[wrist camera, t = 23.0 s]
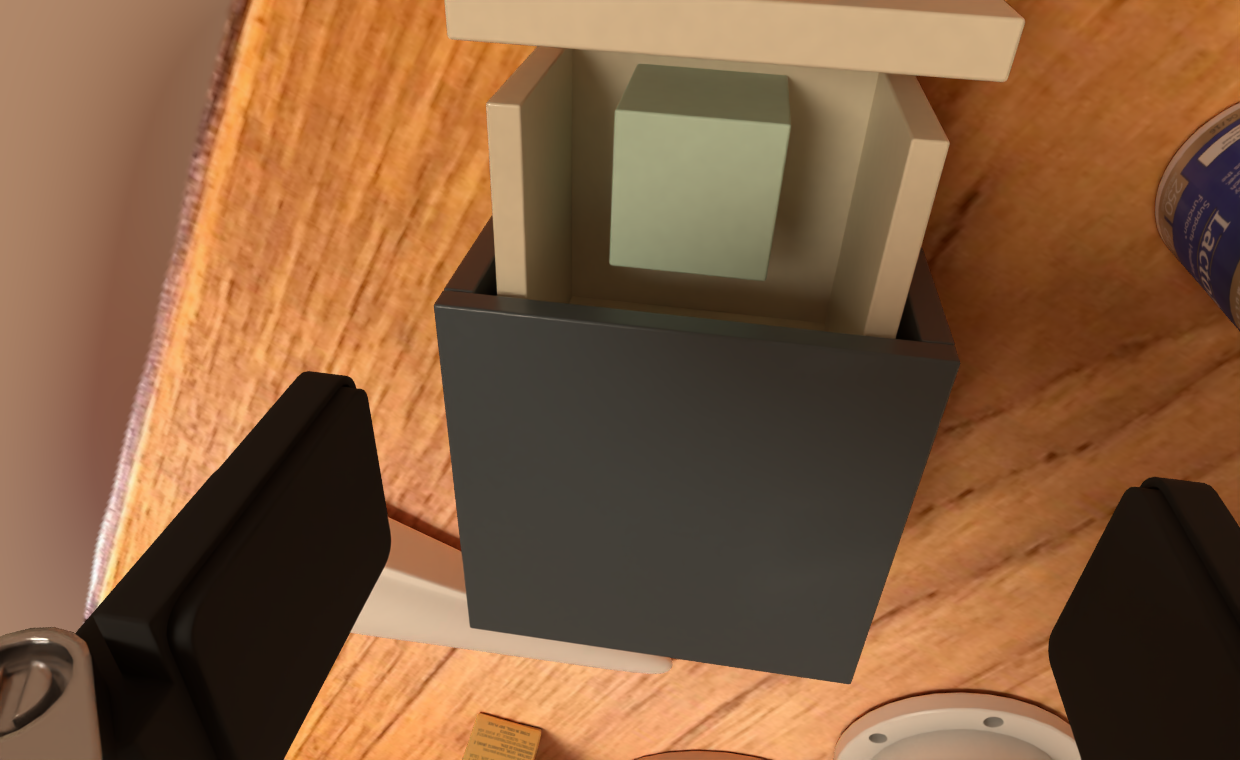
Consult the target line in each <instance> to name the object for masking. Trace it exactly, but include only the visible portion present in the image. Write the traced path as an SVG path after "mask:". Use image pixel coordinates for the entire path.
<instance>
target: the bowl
mask: <svg viewBox="0 0 1240 760" xmlns="http://www.w3.org/2000/svg"><path fill="white" fill-rule="evenodd" d="M637 760H764V759H760V758H757V757H751V756H745V755H739V754H732V753H726V752H709V751H685V752H668V753H663V754H657V755H652V756H647V757H642V758H639V759H637Z"/></svg>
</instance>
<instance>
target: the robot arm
mask: <svg viewBox="0 0 1240 760" xmlns="http://www.w3.org/2000/svg"><path fill="white" fill-rule="evenodd" d="M390 549H391V532H390V526H389V520H388V514H387V508H386V503H385V497H384V491H383V485H382V479H381V473H380V467H379V461H378V455H377V449H376V443H375V437H374V431H373V425H372V420H371V414H370V408H369V402H368V397H367V394H366V392H365V391H364V390H362V389H357V388H356V386H355V383H354V381H353V380H352V378H350V377H348V376H343V375H335V374H327V373H319V372H311V371H307V372H303V373H302V374H300V375H299V376H298V377H297V378H296V379H295V381H294V382H293V383H292V384H291V385H290V386H289V388H288V389H287V390H286V391H285V392H284V393H283V395H282V396H281V397H280V398H279V399H278V400H277V402H276V403H275V404H274V405H273V406H272V407H271V409H270V410H269V411H268V412H267V413H266V414H265V415H264V417H263V418H262V419H261V420H260V421H259V422H258V424H257V425H256V426H255V427H254V428H253V429H252V431H251V432H250V433H249V434H248V435H247V436H246V438H245V439H244V440H243V441H242V442H241V443H240V445H239V446H238V447H237V448H236V449H235V450H234V452H233V453H232V454H231V455H230V456H229V457H228V459H227V460H226V461H225V462H224V463H223V464H222V466H221V467H220V468H219V469H218V470H217V471H216V472H214V473H213V474H212V475H211V476H210V478H209V479H208V480H207V481H206V482H205V483H204V485H203V486H202V487H201V488H200V489H199V490H198V492H197V493H196V494H195V495H194V496H193V497H192V498H191V500H190V501H189V502H188V503H187V504H186V505H185V507H184V508H183V509H182V510H181V511H180V512H179V514H178V515H177V516H176V517H175V518H174V519H173V521H172V522H171V523H170V524H169V525H168V526H167V528H166V529H165V530H164V531H163V532H162V533H161V534H160V536H159V537H158V538H157V539H156V540H155V541H154V543H153V544H152V545H151V546H150V547H149V548H148V550H147V551H146V552H145V553H144V554H143V555H142V557H141V558H140V559H139V560H138V561H137V562H136V563H135V565H134V566H133V567H132V568H131V569H130V570H129V572H128V573H127V574H126V575H125V576H124V577H123V579H122V580H121V581H120V582H119V583H118V584H117V586H116V587H115V588H114V589H113V590H112V591H111V592H110V594H109V595H108V596H107V597H106V598H105V599H104V601H103V602H102V603H101V604H100V605H99V606H98V608H97V609H96V610H95V611H94V612H93V613H92V615H91V616H90V617H89V618H88V619H87V620H86V621H85V623H84V624H83V625H82V626H81V627H80V628H79V630H78V631H77V632H76V633H74V632H71V631H67V630H63V629H59V628H55V627H48V628H47V627H46V628H29V629H25V630H21V631H17V632H13V633H9V634H5V635H3V636H1V637H0V760H284V758H285V756H286V754H287V752H288V750H289V748H290V746H291V744H292V742H293V741H294V739H295V737H296V735H297V733H298V731H299V729H300V727H301V725H302V723H303V721H304V720H305V718H306V716H307V714H308V712H309V710H310V708H311V706H312V704H313V702H314V700H315V699H316V697H317V695H318V693H319V691H320V689H321V687H322V685H323V683H324V681H325V680H326V678H327V676H328V674H329V672H330V670H331V668H332V666H333V664H334V662H335V660H336V659H337V657H338V655H339V653H340V651H341V649H342V647H343V645H344V643H345V641H346V639H347V638H348V636H349V634H350V632H351V630H352V628H353V626H354V624H355V622H356V620H357V618H358V617H359V615H360V613H361V611H362V609H363V607H364V605H365V603H366V601H367V599H368V598H369V596H370V594H371V592H372V590H373V588H374V586H375V584H376V582H377V580H378V578H379V577H380V575H381V573H382V571H383V569H384V567H385V565H386V563H387V560H388V557H389V554H390ZM1048 652H1049V660H1050V665H1051V668H1052V671H1053V674H1054V677H1055V680H1056V683H1057V686H1058V689H1059V693H1060V696H1061V699H1062V702H1063V705H1064V708H1065V711H1066V714H1067V717H1068V720H1069V723H1070V725H1069V724H1068V723H1066V722H1065V721H1064V720H1062V719H1061V718H1059V717H1058V716H1056V715H1054V714H1052V713H1050V712H1048V711H1046V710H1044V709H1041V708H1039V707H1037V706H1035V705H1032V704H1028V703H1025V702H1022V701H1019V700H1015V699H1012V698H1007V697H1001V696H995V695H990V694H979V693H963V692H958V693H936V694H929V695H922V696H916V697H910V698H907V699H903V700H900V701H896V702H892V703H889V704H887V705H884V706H882V707H880V708H877V709H875V710H873V711H871V712H869V713H867V714H866V715H864V716H863V717H861V718H860V719H858V720H857V721H855V722H854V723H852V725H851V726H850V727H849V728H848V729H847V730H846V731H845V732H844V733H843V734H842V735H841V737H840V739H839V741H838V742H837V744H836V746H835V751H834V756H833V760H1240V527H1239V526H1238V524H1237V523H1236V521H1235V520H1234V518H1233V516H1232V515H1231V513H1230V512H1229V510H1228V509H1227V507H1226V506H1225V504H1224V503H1223V501H1222V500H1221V498H1220V497H1219V495H1218V494H1217V492H1216V491H1215V490H1214V489H1213V488H1212V487H1211V486H1210V485H1207V484H1205V483H1200V482H1192V481H1184V480H1176V479H1168V478H1160V477H1151V478H1148V479H1147V480H1145V481H1144V482H1143V483H1142V484H1141V486H1140V487H1130V488H1129V489H1128V490H1126V492H1125V493H1124V494H1123V496H1122V498H1121V500H1120V502H1119V504H1118V506H1117V507H1116V509H1115V511H1114V513H1113V515H1112V517H1111V519H1110V521H1109V523H1108V525H1107V527H1106V529H1105V530H1104V532H1103V534H1102V536H1101V538H1100V540H1099V542H1098V544H1097V546H1096V548H1095V550H1094V552H1093V553H1092V555H1091V557H1090V559H1089V561H1088V563H1087V565H1086V567H1085V569H1084V571H1083V573H1082V575H1081V577H1080V578H1079V580H1078V582H1077V584H1076V586H1075V588H1074V590H1073V592H1072V594H1071V596H1070V598H1069V600H1068V601H1067V603H1066V605H1065V607H1064V609H1063V611H1062V613H1061V615H1060V617H1059V619H1058V621H1057V623H1056V624H1055V626H1054V628H1053V630H1052V633H1051V635H1050V639H1049V648H1048Z"/></svg>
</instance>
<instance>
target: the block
mask: <svg viewBox="0 0 1240 760" xmlns="http://www.w3.org/2000/svg"><path fill="white" fill-rule="evenodd" d="M790 132H791V116H790V102H789V87H788V77H787V76H786V75H773V74H761V73H749V72H736V71H724V70H712V69H699V68H687V67H675V66H662V65H650V64H637V66H636V68H635V70H634V72H633V75H632V77H631V79H630V81H629V83H628V85H627V87H626V89H625V91H624V93H623V95H622V97H621V100H620V102H619V104H618V106H617V108H616V110H615V117H614V145H613V173H612V201H611V229H610V258H609V263H610V265H613V266H623V267H632V268H642V269H651V270H661V271H670V272H680V273H689V274H699V275H708V276H718V277H727V278H737V279H746V280H756V281H765V280H766V278H767V272H768V266H769V260H770V254H771V248H772V242H773V235H774V229H775V223H776V217H777V211H778V205H779V199H780V193H781V187H782V181H783V174H784V168H785V162H786V156H787V150H788V144H789V138H790Z"/></svg>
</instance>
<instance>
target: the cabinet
mask: <svg viewBox="0 0 1240 760" xmlns="http://www.w3.org/2000/svg"><path fill="white" fill-rule="evenodd" d="M434 311H435V320H436V329H437V338H438V347H439V356H440V365H441V374H442V383H443V392H444V401H445V410H446V419H447V428H448V437H449V446H450V454H451V463H452V472H453V481H454V490H455V499H456V508H457V517H458V526H459V535H460V544H461V553H462V562H463V571H464V580H465V588H466V597H467V606H468V615H469V624H470V628H474V629H480V630H487V631H494V632H500V633H507V634H514V635H521V636H527V637H534V638H541V639H548V640H554V641H561V642H568V643H575V644H581V645H588V646H595V647H601V648H608V649H615V650H622V651H628V652H635V653H642V654H649V655H655V656H662V657H669V658H675V659H682V660H689V661H696V662H702V663H709V664H716V665H723V666H729V667H736V668H743V669H750V670H756V671H763V672H770V673H776V674H783V675H790V676H797V677H803V678H810V679H817V680H824V681H830V682H837V683H844V684H851V682H852V679H853V676H854V673H855V670H856V667H857V664H858V661H859V658H860V655H861V652H862V649H863V647H864V644H865V641H866V638H867V635H868V632H869V629H870V626H871V623H872V620H873V617H874V614H875V611H876V609H877V606H878V603H879V600H880V597H881V594H882V591H883V588H884V585H885V582H886V579H887V576H888V574H889V571H890V568H891V565H892V562H893V559H894V556H895V553H896V550H897V547H898V544H899V541H900V538H901V536H902V533H903V530H904V527H905V524H906V521H907V518H908V515H909V512H910V509H911V506H912V503H913V501H914V498H915V495H916V492H917V489H918V486H919V483H920V480H921V477H922V474H923V471H924V468H925V465H926V463H927V460H928V457H929V454H930V451H931V448H932V445H933V442H934V439H935V436H936V433H937V430H938V428H939V425H940V422H941V419H942V416H943V413H944V410H945V407H946V404H947V401H948V398H949V395H950V392H951V390H952V387H953V384H954V381H955V378H956V375H957V372H958V369H959V366H960V360H959V357H958V354H957V351H956V348H955V346H954V345H955V344H954V341H953V338H952V335H951V332H950V329H949V326H948V323H947V320H946V317H945V314H944V311H943V308H942V305H941V302H940V299H939V296H938V293H937V290H936V287H935V284H934V281H933V278H932V275H931V272H930V269H929V266H928V263H927V260H926V257H925V254H924V251H923V248H922V245H921V249H920V253H919V256H918V260H917V263H916V267H915V270H914V274H913V278H912V281H911V285H910V288H909V292H908V295H907V299H906V303H905V306H904V310H903V313H902V317H901V320H900V324H899V328H898V331H897V335H896V338H895V339H891V338H882V337H873V336H863V335H854V334H845V333H836V332H826V331H817V330H808V329H799V328H789V327H780V326H771V325H762V324H752V323H743V322H734V321H725V320H715V319H706V318H697V317H688V316H678V315H669V314H660V313H651V312H641V311H632V310H623V309H614V308H604V307H595V306H586V305H577V304H567V303H558V302H549V301H540V300H530V299H521V298H512V297H503V296H497V282H496V265H495V248H494V231H493V215H492V216H491V218H490V219H489V221H488V222H487V224H486V225H485V227H484V228H483V230H482V231H481V233H480V235H479V236H478V238H477V239H476V241H475V242H474V244H473V245H472V247H471V248H470V250H469V251H468V253H467V255H466V256H465V258H464V259H463V261H462V262H461V264H460V265H459V267H458V268H457V270H456V271H455V273H454V274H453V276H452V278H451V279H450V281H449V282H448V284H447V285H446V287H445V288H444V291H443V292H442V293H441V295H440V296H439V298H438V299H437V301H436V302H435V304H434Z"/></svg>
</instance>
